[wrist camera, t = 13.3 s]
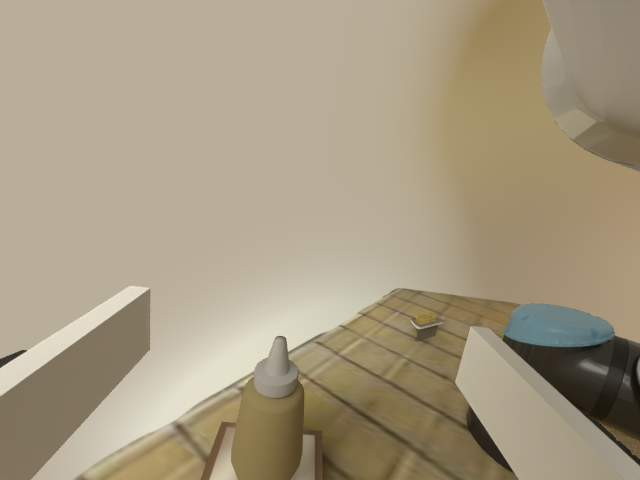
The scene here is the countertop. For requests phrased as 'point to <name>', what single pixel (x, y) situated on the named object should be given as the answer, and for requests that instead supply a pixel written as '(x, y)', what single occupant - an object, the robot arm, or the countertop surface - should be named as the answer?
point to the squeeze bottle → (270, 420)
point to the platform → (425, 326)
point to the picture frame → (221, 472)
